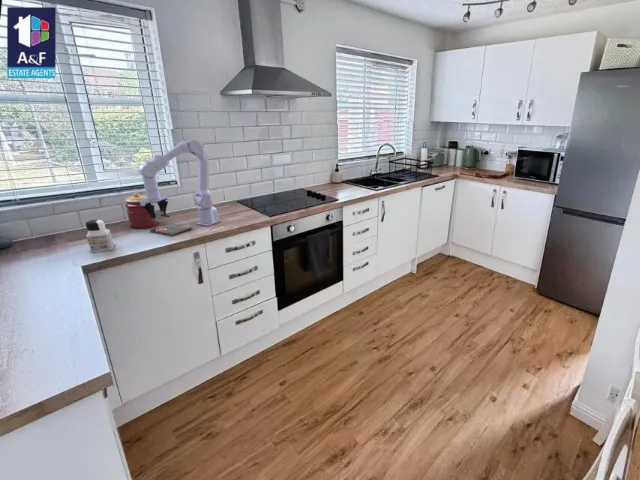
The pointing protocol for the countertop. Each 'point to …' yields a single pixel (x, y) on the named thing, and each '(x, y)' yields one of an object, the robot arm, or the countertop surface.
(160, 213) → the wok
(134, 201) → the kitchen canister
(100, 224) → the container
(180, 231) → the dark grey flat slab
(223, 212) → the countertop surface
